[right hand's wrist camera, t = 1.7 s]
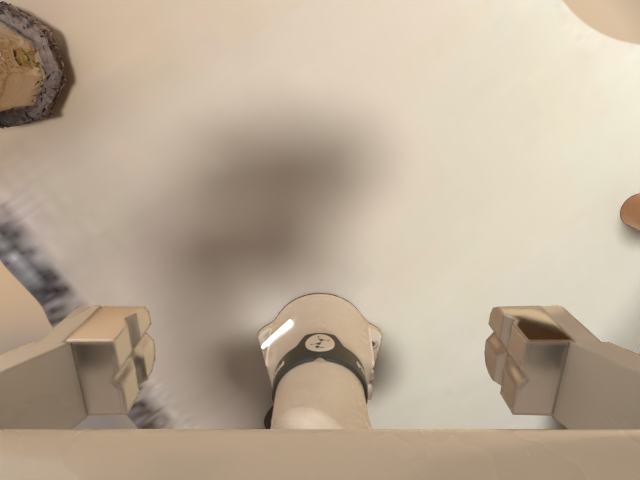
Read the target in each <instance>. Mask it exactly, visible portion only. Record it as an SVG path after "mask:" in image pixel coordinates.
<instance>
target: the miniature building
mask: <svg viewBox="0 0 640 480" xmlns="http://www.w3.org/2000/svg"><path fill="white" fill-rule="evenodd" d="M20 24H22V25H23V26H24V27H25V29H23V27H22V25H20ZM27 26H28V28H26V27H27ZM12 29H13V30H12ZM19 31H20V32H21V33H20V32H19ZM13 32H14V33H13ZM15 34H16V35H15ZM40 35H41V36H43V37H40ZM22 36H23V37H22ZM31 38H32V39H31ZM23 40H24V41H23ZM48 43H49V44H48ZM42 45H43V46H44V47H43V46H42ZM49 45H50V47H51V48H52V51H51V49H50V47H49ZM57 45H58V44H57V41H56V38H55V36H54V33H53V31H52V30H51V29H50V28H49V27H48V26H47V25H44V24H42V23H41V22H39V21H38V20H37V19H35V18H34V17H32V16H31V15H29V14H28V13H25V12H23V11H22V10H21V9H18V7H16V6H14V5H12V4H10V3H9V4H7V3H6V2H4V1H2V2H0V128H4V127H12V126H20V125H21V124H27V123H30V122H33V121H36V120H42V119H47V118H49V117H52V116H53V115H52V114H51V113H50V112H51V109H52V107H53V106H54V105H55V104H56V102H57V100H58V98H59V95H60V93H61V90H62V88H63V87H64V85H65V84H66V82H67V79H66V76H65V72H64V71H65V68H64V64H63V62H62V60H61V58H60V57H61V56H60V55H59V54H58V51H57V50H58V46H57ZM53 47H54V48H53ZM43 48H44V49H45V50H44V49H43ZM31 50H32V51H31ZM23 51H24V52H25V53H24V52H23ZM27 52H28V54H27ZM24 54H27V56H28V55H29V56H28V57H30V58H31V59H32V60H33V61H34V62H35V63H34V62H33V61H32V60H31V59H30V58H29V59H30V60H27V59H28V57H27V56H26V55H24ZM29 62H30V63H31V64H30V63H29ZM37 62H40V63H39V64H38V63H37ZM31 66H32V67H33V69H32V67H31ZM59 68H60V69H59ZM44 69H45V70H44ZM38 71H39V72H38ZM54 71H55V72H54ZM45 72H46V75H45ZM53 72H54V73H53ZM58 72H59V73H60V75H59V73H58ZM51 73H52V74H51ZM50 74H51V75H50ZM49 75H50V77H49V78H48V80H47V79H46V77H48V76H49ZM38 76H39V77H38ZM61 76H62V77H61ZM38 80H39V81H40V82H38ZM41 80H42V81H41ZM46 80H47V81H46ZM37 82H38V83H37ZM36 83H37V84H36ZM40 83H42V84H40ZM35 84H36V85H35ZM61 84H62V86H61ZM41 85H43V86H41ZM43 87H44V88H43ZM45 88H46V90H45ZM52 88H55V89H52ZM45 91H46V93H43V92H45ZM40 92H42V96H43V98H42V96H41V95H40V94H41V93H40ZM33 95H39V96H33ZM47 95H48V96H47ZM39 98H42V103H41V99H39ZM32 101H34V102H32ZM47 103H48V104H47ZM29 104H30V105H29ZM38 104H39V105H38ZM25 106H27V107H28V108H26V107H25Z"/></svg>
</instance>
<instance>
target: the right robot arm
mask: <svg viewBox="0 0 640 480" xmlns="http://www.w3.org/2000/svg"><path fill="white" fill-rule="evenodd" d="M150 325H151V319H150V314H149V311H148V310H147V308H146V307H131V306H79V307H77V308H76V309H75V310H73V311H72V312H71V313H70V314H69V315H68V316H67V317H66V318H65V319H63V320H62V321H61V322H60V323H59V324H58V325H57V326H56V327H55V328H54V329H52V330H51V331H50V332H49V333H48V334H47V335H46V336H45V337H44V338H43V339H41V340H40V341H39V342H31V343H29V344H26V345H23V346H21V347H18V348H16V349H13V350H11V351H8V352H6V353H3V354H1V355H0V480H640V355H639V354H637V353H634V352H632V351H629V350H627V349H624V348H622V347H619V346H617V345H614V344H612V343H609V342H601V341H600V340H599V339H598V338H596V337H595V336H594V335H593V334H592V333H591V332H590V331H589V330H588V329H587V328H585V327H584V326H583V325H582V324H581V323H580V322H579V321H578V320H577V319H576V318H574V317H573V316H572V315H571V314H570V313H569V312H568V311H567V310H566V309H565V308H563V307H561V306H557V305H556V306H514V307H495V308H493V309H492V311H491V314H490V318H489V325H490V327H491V328H492V330H493V331H494V332H493V333H492V334H491V335H490V337H489V338H488V339H487V340H486V345H485V362H486V367H487V370H488V373H489V374H490V376H491V378H492V380H493V381H495V382H497V383H498V384H500V385H501V392H500V394H501V395H502V397H503V399H504V400H505V402H506V404H507V405H508V407H509V409H510V410H511V412H512V414H513V415H549V416H553V418H554V419H556V420H557V421H558V422H560V423H561V424H562V425H564V426H565V427H566V428H568V429H372V427H371V423H370V420H369V416H368V411H367V406H366V404H367V400H370V399H371V398H372V391H373V387H372V384H370V383H369V382H370V380H373V379H374V370H373V368H374V364H375V361H376V358H377V354H378V351H379V347H380V344H381V340H382V334H381V331H380V330H379V329H378V328H376V327H375V326H373V325H372V324H370V323H368V322H367V321H366V320H365V319H364V318H363V316H362V315H361V314H360V312H359V311H358V310H357V309H356V308H355V307H354V306H353V305H352V304H351V303H349V302H348V301H346V300H344V299H342V298H339V297H337V296H333V295H328V294H312V295H307V296H303V297H301V298H298V299H296V300H294V301H292V302H291V303H289V304H288V305H287V306H286V307H285V308H284V309H283V310H282V311H281V312H280V314H279V315H278V316H277V318H276V319H275V320H274V321H273V322H272V323H270V324H268V325H267V326H265V327H264V328H262V329H261V330H260V331H259V334H258V340H259V344H260V347H261V351H262V354H263V357H264V361H265V364H266V368H267V371H268V375H269V378H270V382H271V385H272V389H273V390H272V400H273V404H274V405H273V406H272V407H271V409H270V410H269V411H268V413H267V414H266V417H265V420H264V424H265V427H266V429H72V428H74V427H75V426H76V425H78V424H79V423H81V422H82V421H83V420H85V419H86V418H87V416H90V415H126V414H128V412H129V411H130V409H131V407H132V405H133V404H134V402H135V400H136V399H137V397H138V395H139V394H140V392H139V385H140V384H142V383H143V382H145V381H147V380H148V378H149V376H150V374H151V373H152V370H153V366H154V362H155V344H154V340H153V339H152V338H151V337H150V335H149V334H148V333H147V332H146V331H147V330H148V328H149V327H150ZM372 342H374V343H373V344H372ZM271 418H272V420H271ZM270 420H271V424H270Z"/></svg>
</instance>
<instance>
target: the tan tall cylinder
mask: <svg viewBox="0 0 640 480" xmlns="http://www.w3.org/2000/svg"><path fill="white" fill-rule="evenodd" d="M620 215H621V219H622V221H623V222H624V223H625V224H627V225H629V226H631V227H633V228H635V229H638V230H640V194H637V195H634V196H632V197H630V198H629V199H628V200H627V201H626V202H625V203H624V204H623V206H622V208H621V213H620Z"/></svg>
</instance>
